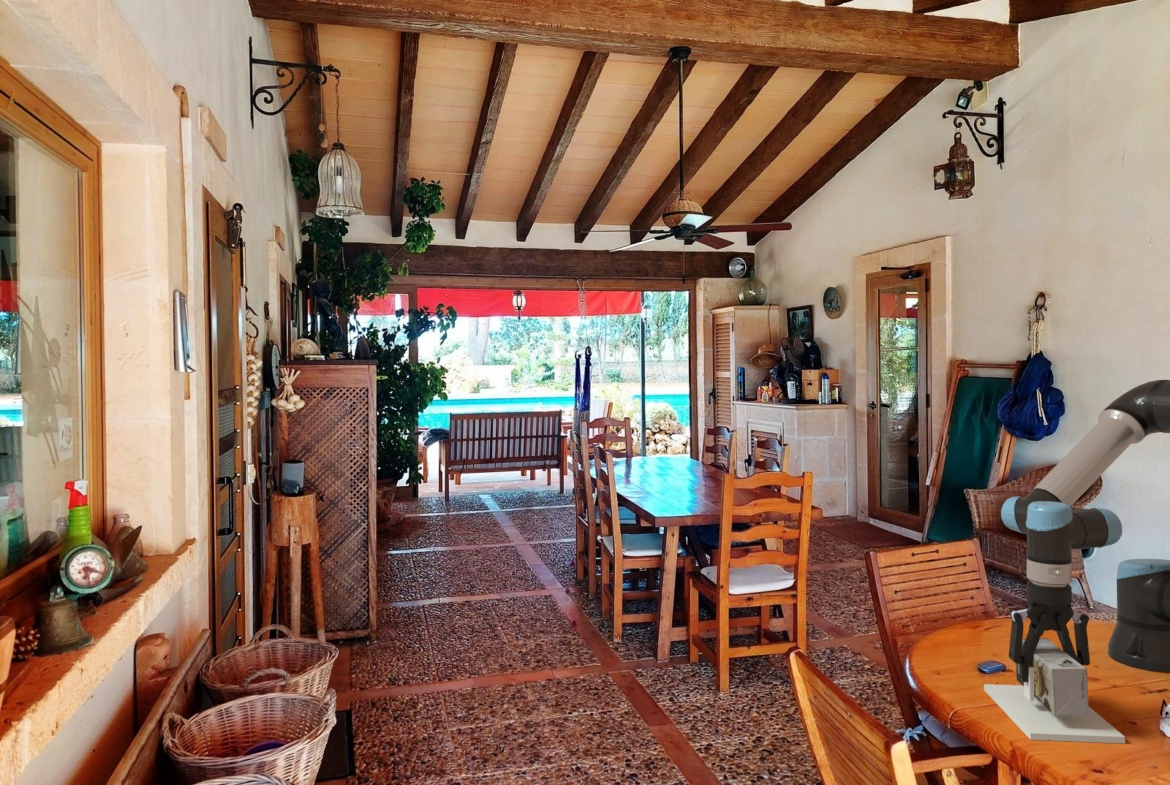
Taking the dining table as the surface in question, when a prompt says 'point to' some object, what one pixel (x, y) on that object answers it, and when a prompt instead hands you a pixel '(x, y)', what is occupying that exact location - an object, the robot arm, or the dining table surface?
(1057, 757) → the dining table surface
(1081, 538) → the robot arm
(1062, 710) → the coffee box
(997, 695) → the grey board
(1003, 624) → the dining table surface
